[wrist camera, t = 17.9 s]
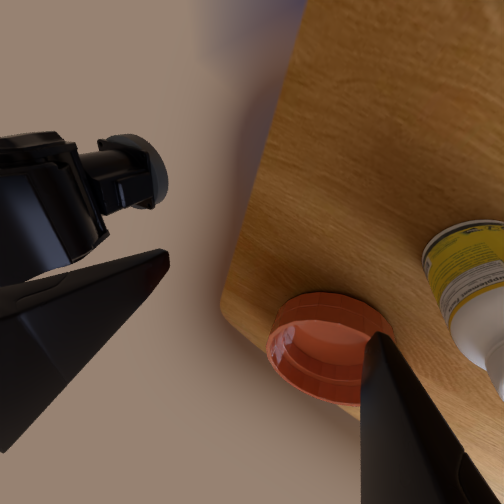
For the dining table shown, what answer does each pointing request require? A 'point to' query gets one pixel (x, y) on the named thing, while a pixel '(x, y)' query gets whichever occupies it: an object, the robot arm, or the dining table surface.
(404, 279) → the dining table surface
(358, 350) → the bowl
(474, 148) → the dining table surface
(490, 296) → the pill bottle
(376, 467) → the robot arm
